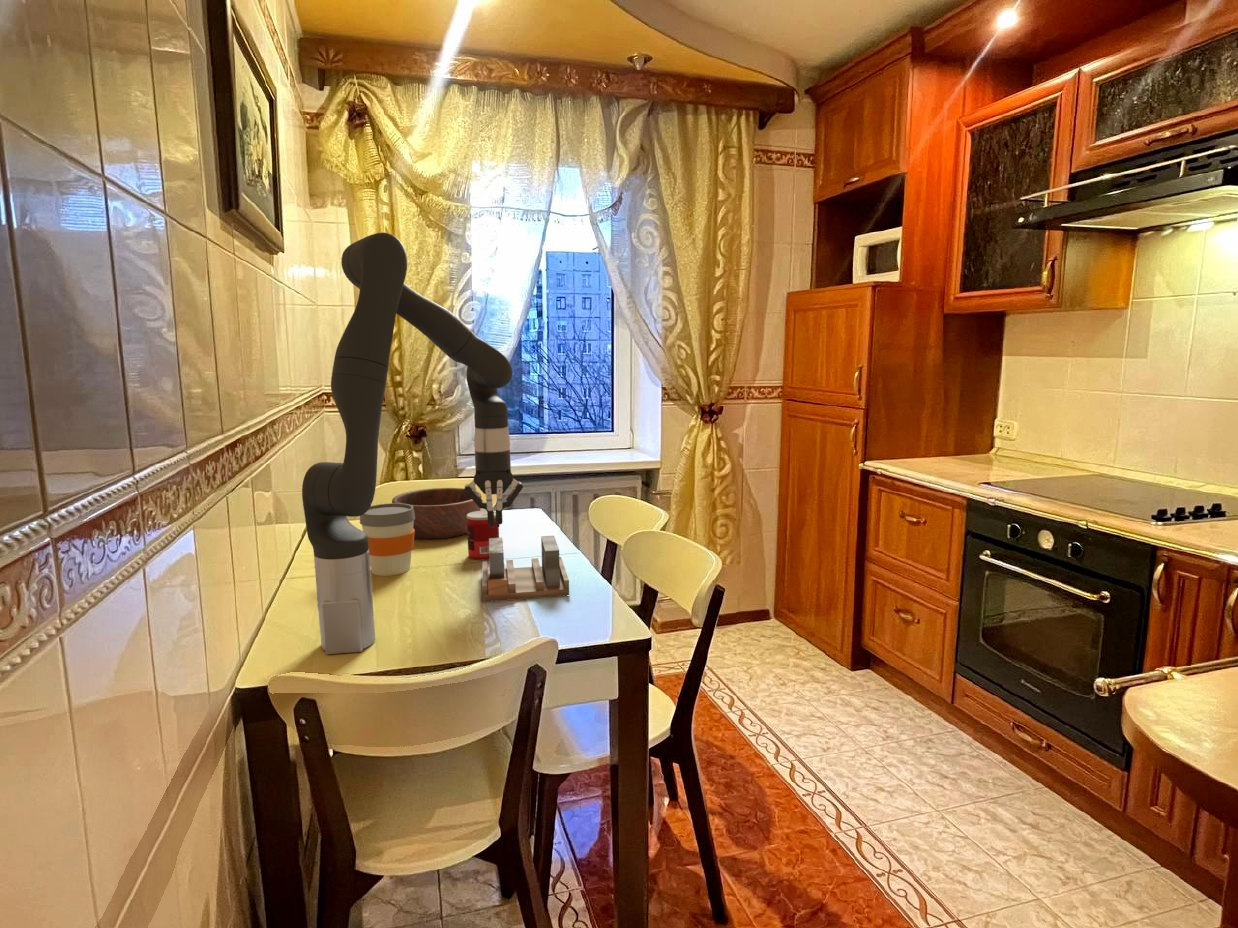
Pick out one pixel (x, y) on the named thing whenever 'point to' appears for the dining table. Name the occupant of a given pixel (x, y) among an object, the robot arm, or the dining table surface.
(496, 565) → the panel
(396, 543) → the reusable coffee cup
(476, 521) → the canned food
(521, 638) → the dining table surface
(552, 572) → the rack
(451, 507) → the wooden bowl
